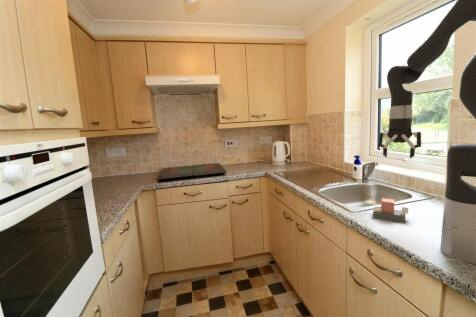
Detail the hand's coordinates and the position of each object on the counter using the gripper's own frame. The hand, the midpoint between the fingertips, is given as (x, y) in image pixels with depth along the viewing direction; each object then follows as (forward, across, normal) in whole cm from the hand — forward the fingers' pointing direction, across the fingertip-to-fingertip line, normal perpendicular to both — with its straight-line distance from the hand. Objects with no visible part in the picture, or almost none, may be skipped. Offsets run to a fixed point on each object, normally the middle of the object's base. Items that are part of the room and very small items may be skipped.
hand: (398, 157), depth 97 cm
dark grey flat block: (+25, -2, -4) cm, 25 cm away
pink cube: (+22, -3, -3) cm, 23 cm away
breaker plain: (+22, +3, -4) cm, 23 cm away
